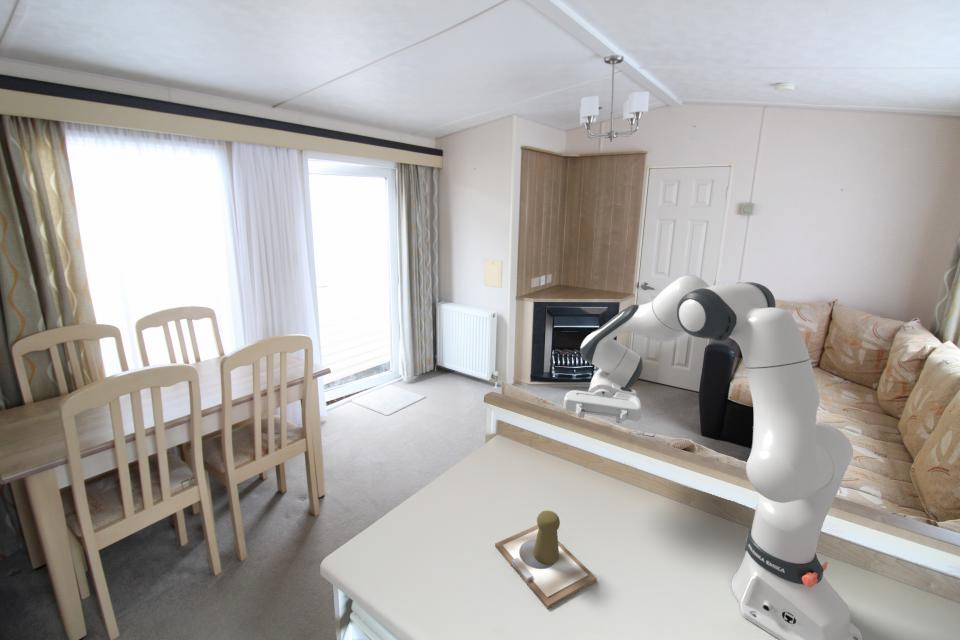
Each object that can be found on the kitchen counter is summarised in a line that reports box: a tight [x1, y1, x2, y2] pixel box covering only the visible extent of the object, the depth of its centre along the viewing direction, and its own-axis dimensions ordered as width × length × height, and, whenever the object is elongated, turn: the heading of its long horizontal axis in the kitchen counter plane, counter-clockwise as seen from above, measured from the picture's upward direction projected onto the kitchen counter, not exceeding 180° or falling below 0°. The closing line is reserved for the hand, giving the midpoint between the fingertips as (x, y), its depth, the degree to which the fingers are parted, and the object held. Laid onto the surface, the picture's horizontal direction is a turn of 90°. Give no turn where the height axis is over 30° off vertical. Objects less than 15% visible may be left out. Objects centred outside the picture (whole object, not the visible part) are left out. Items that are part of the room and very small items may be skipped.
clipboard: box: [494, 524, 598, 609], centre depth 105 cm, size 20×14×2 cm
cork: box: [533, 510, 561, 565], centre depth 104 cm, size 6×6×11 cm
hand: (599, 417), depth 115 cm, fingers open, 8 cm apart
